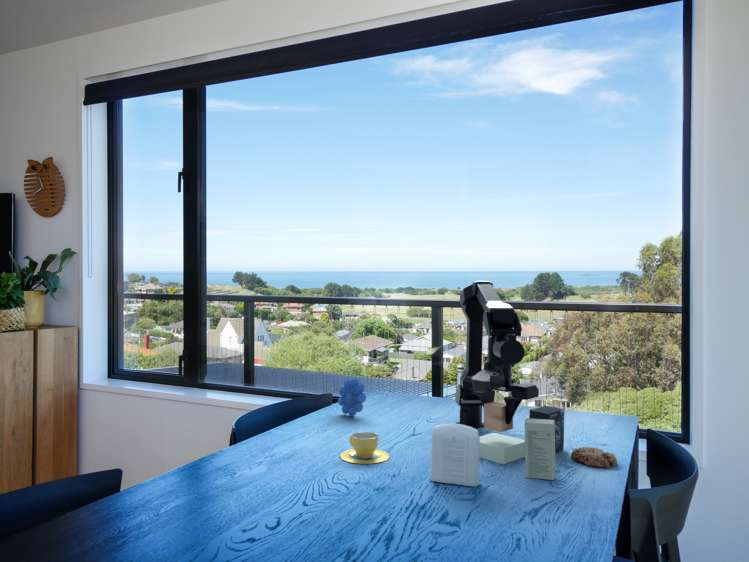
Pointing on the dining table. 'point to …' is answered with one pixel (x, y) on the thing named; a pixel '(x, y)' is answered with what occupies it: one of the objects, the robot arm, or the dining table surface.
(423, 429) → the dining table surface
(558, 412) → the box
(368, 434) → the cup
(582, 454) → the cookie
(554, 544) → the dining table surface
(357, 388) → the grapes
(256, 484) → the dining table surface
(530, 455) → the skincare box
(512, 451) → the sage base block
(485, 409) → the terracotta block
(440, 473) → the white gravestone
